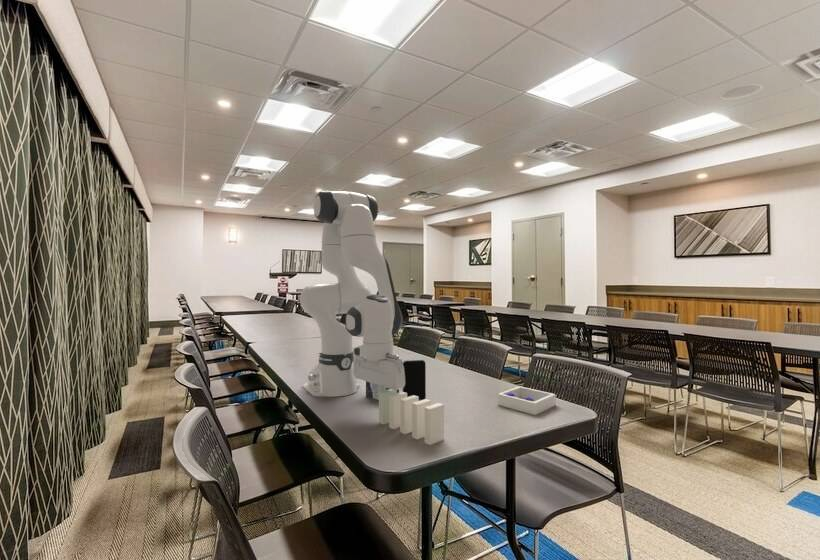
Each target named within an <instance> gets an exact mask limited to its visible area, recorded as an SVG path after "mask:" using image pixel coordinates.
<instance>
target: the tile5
mask: <svg viewBox="0 0 820 560" xmlns="http://www.w3.org/2000/svg"><path fill="white" fill-rule="evenodd" d="M444 406H445V405H444V404H443V403H440V402H437V403H434V404H431V405H430V406H427V407H425V437H424V444H427V445H429V446H431V445H434V444H437V443H439V442H442V441H444V440H445V435H444V434H445V431H444V430H445V429H444V427H445V421H444V420H445V416H444V415H445V410H444V409H445V407H444Z"/></svg>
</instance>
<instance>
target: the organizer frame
mask: <svg viewBox="0 0 820 560" xmlns="http://www.w3.org/2000/svg"><path fill="white" fill-rule="evenodd" d="M509 393H512V394H514V396H515V397H513V396H509V395H507V394H509ZM528 397H529V398H533V401H529V400H525V399H526V398H528ZM556 397H557V396H556V394H555V393H553V392H547V391H544V390H543V391H542V390H538V389H534V388H529V387H525V386H516V387H514V388H513V387H512V388H511V389H508V390H505V391H502V392H499V393H497V406H500V407H504V408H509V409H511V410H516V411H518V412H519V411H520V412H523V413H525V414H530V415H534V416H536V415H538V414H541V413H542V412H544V411H547V410H549V409H551V408H553V407H555V406H556V403H557V400H556Z"/></svg>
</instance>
